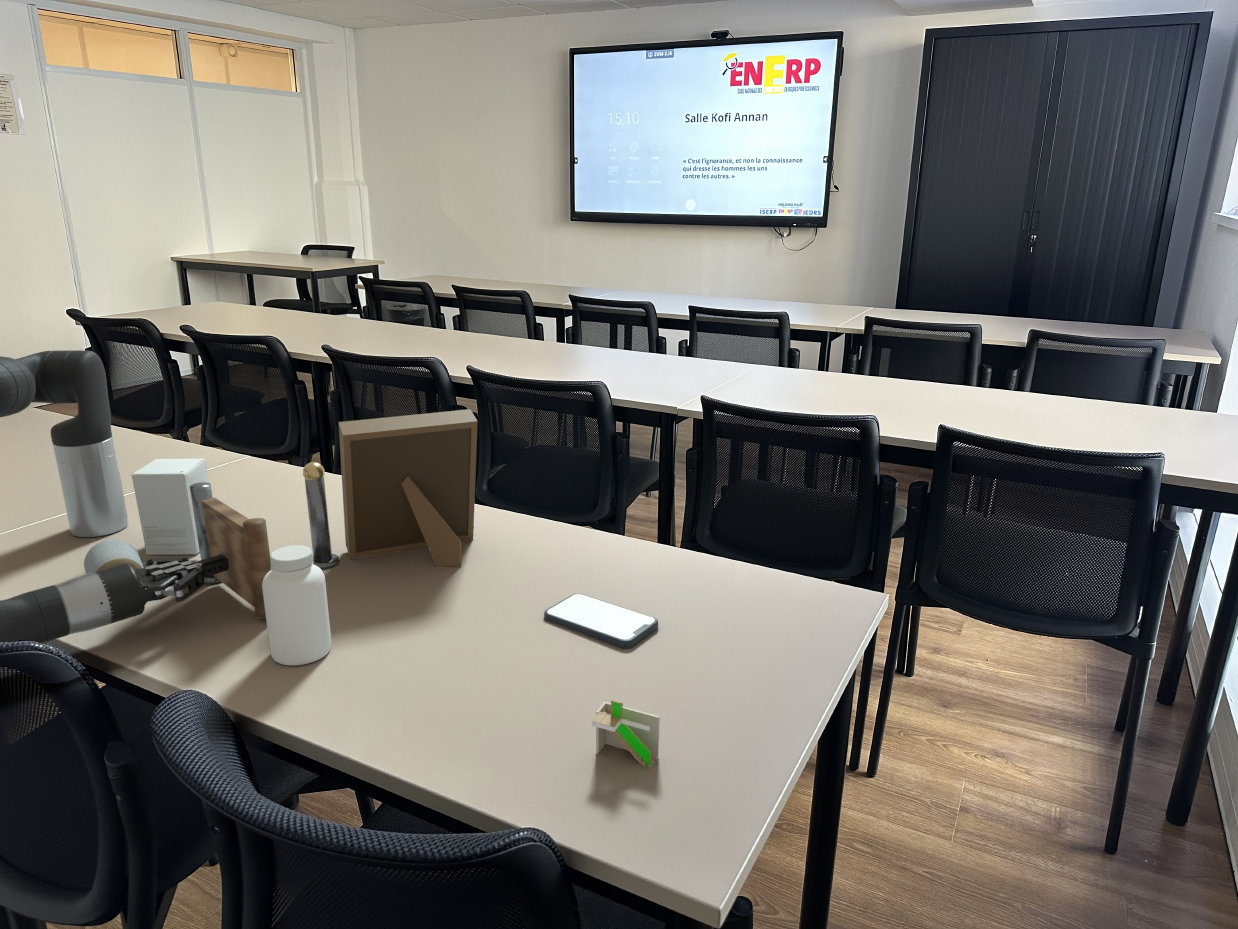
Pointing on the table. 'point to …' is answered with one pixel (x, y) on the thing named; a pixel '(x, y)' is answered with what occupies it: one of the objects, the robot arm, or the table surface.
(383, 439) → the photo frame
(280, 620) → the pill bottle
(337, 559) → the post
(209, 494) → the hinge post
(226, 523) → the gate
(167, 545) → the supplement box
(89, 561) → the ceramic mug
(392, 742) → the table surface
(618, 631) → the smartphone
